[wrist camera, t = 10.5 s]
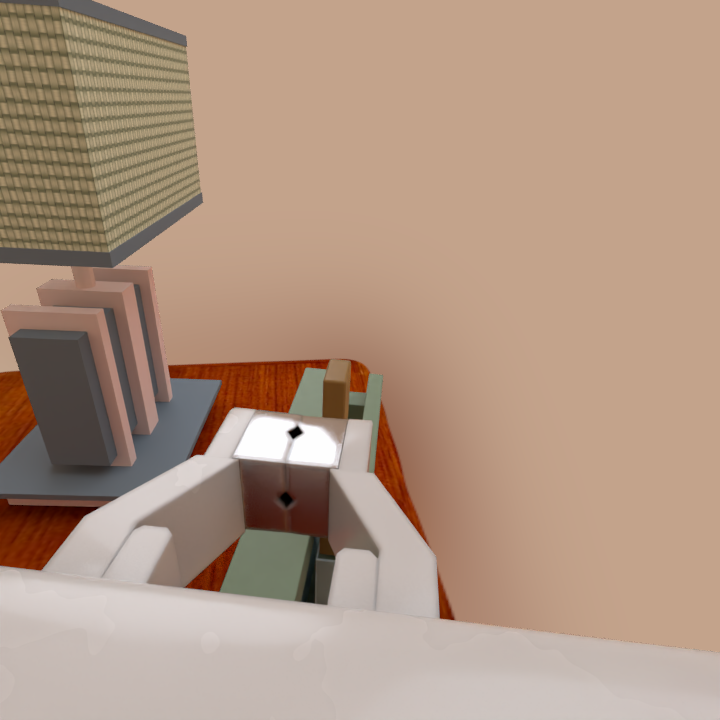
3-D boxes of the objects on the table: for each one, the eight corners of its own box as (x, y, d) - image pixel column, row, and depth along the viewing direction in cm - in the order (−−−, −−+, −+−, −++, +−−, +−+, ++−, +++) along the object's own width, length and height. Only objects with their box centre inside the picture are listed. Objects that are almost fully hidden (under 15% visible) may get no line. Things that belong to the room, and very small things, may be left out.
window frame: (368, 528, 37) (383, 374, 30) (325, 991, 18) (337, 855, 11) (305, 521, 37) (306, 367, 30) (194, 969, 18) (128, 824, 11)
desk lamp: (92, 391, 51) (-3, 22, 35) (225, 395, 52) (189, 36, 36) (-24, 525, 35) (-295, -39, 19) (170, 529, 36) (62, -13, 20)
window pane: (350, 551, 33) (368, 290, 24) (331, 695, 25) (348, 386, 16) (336, 550, 33) (348, 288, 24) (313, 693, 25) (318, 384, 16)
